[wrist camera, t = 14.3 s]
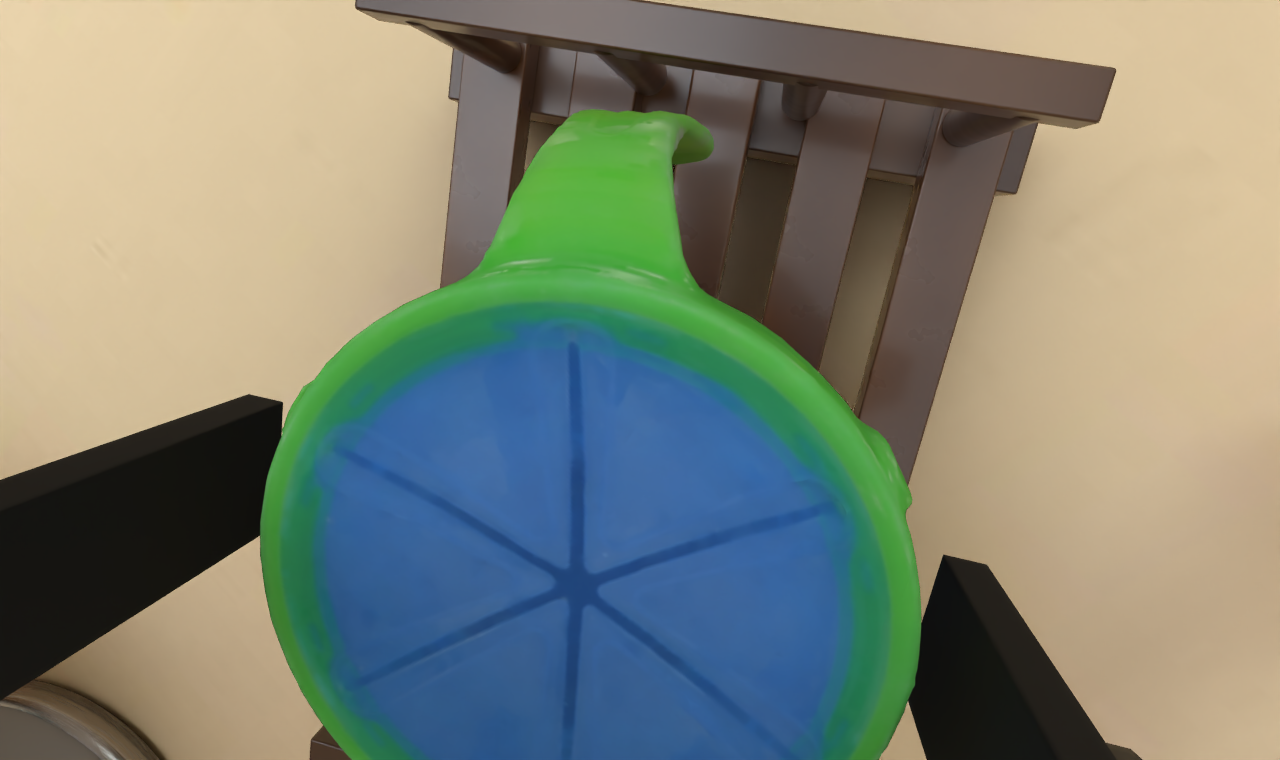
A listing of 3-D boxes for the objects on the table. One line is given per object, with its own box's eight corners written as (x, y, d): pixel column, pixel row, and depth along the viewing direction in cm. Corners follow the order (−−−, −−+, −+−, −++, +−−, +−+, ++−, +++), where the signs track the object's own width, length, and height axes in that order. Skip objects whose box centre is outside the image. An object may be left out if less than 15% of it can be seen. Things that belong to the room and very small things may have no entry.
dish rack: (435, 584, 28) (274, 763, 19) (494, 49, 23) (310, -63, 14) (837, 692, 26) (874, 952, 17) (1003, 128, 21) (1188, 60, 11)
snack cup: (784, 694, 22) (796, 1088, 12) (466, 612, 23) (243, 903, 13) (915, 177, 18) (1096, 130, 8) (520, 116, 19) (259, 12, 9)
